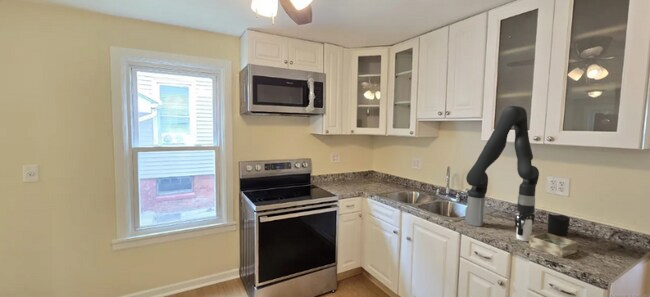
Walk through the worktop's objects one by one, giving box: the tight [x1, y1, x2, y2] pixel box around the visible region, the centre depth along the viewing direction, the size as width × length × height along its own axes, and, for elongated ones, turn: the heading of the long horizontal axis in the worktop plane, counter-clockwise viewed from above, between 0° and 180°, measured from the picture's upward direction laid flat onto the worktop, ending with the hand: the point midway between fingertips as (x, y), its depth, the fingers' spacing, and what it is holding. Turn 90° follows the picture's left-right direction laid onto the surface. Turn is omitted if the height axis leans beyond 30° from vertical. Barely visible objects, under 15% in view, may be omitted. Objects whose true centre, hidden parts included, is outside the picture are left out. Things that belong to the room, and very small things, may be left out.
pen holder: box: [547, 213, 570, 237], centre depth 162 cm, size 9×9×10 cm
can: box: [515, 219, 533, 243], centre depth 152 cm, size 6×6×12 cm
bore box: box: [528, 231, 578, 259], centre depth 141 cm, size 14×14×5 cm
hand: (523, 233), depth 152 cm, fingers closed on can, 6 cm apart
